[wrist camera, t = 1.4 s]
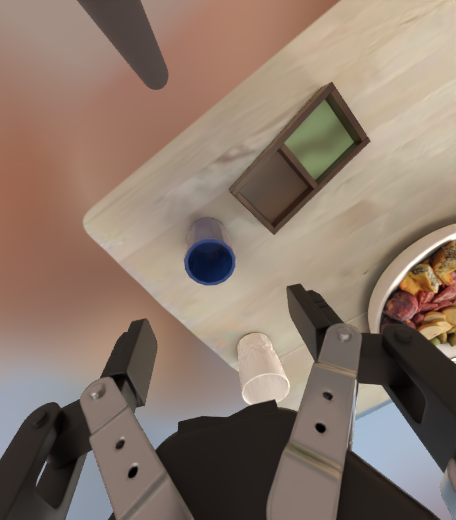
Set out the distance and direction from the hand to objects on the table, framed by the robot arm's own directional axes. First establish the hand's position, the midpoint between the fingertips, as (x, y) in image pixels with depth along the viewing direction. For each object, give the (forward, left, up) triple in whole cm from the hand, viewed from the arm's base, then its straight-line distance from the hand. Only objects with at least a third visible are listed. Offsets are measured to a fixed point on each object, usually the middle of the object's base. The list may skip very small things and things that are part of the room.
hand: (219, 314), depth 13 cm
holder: (+4, +13, -24) cm, 28 cm away
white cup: (+24, -14, -25) cm, 37 cm away
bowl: (+42, +18, -24) cm, 52 cm away
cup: (+2, -3, -24) cm, 25 cm away
